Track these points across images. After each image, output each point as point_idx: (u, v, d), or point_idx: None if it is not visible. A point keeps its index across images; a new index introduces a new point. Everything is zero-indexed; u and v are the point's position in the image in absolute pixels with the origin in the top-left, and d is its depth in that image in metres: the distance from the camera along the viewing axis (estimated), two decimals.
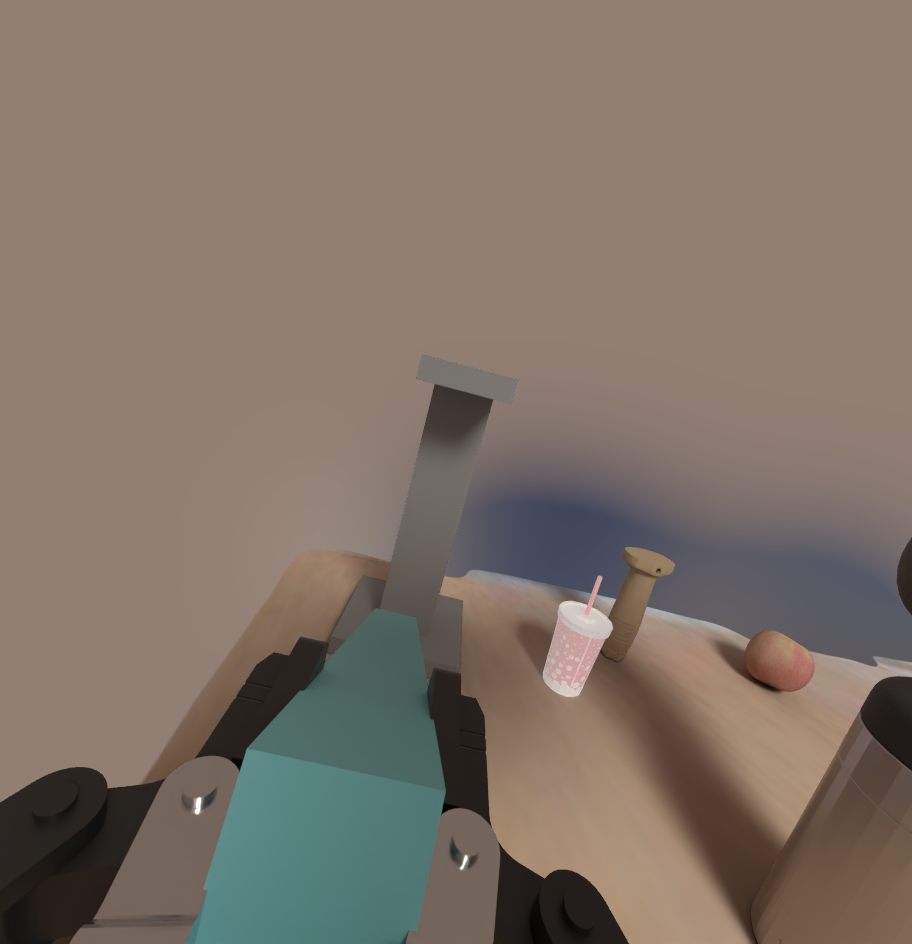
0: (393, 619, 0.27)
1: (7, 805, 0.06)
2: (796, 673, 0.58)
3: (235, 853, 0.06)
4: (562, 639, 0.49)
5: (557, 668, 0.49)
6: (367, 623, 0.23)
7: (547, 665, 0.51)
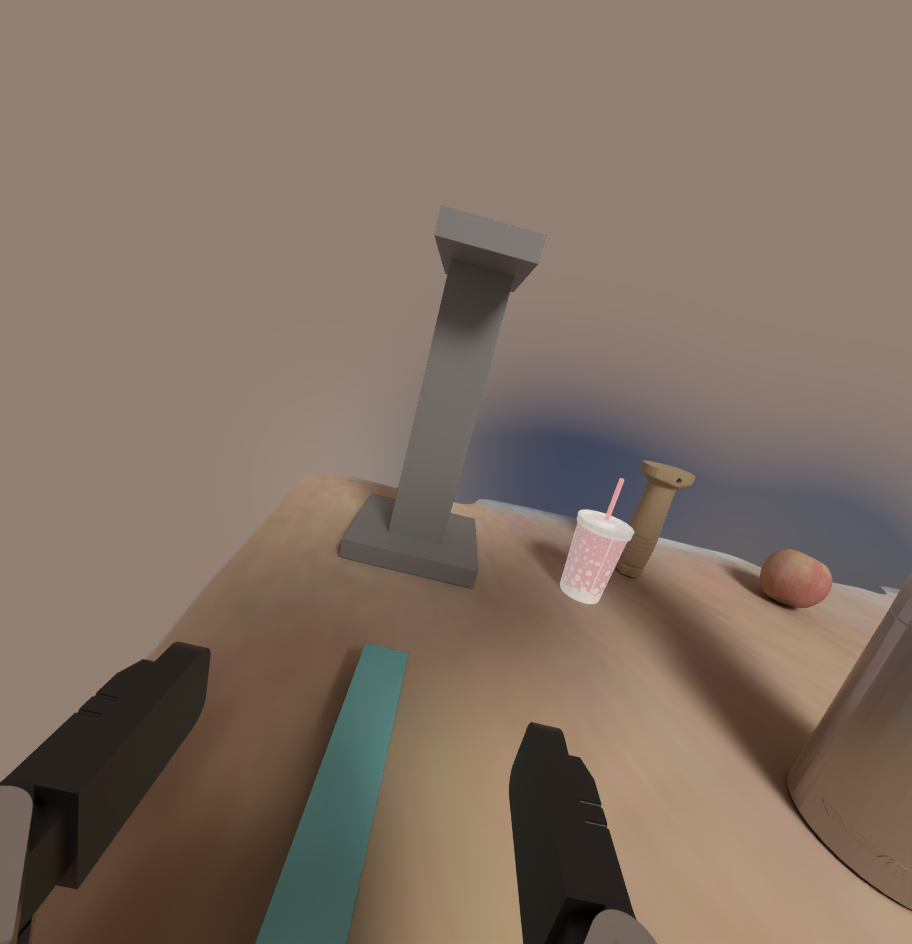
0: (371, 701, 0.25)
1: None
2: (814, 587, 0.57)
3: None
4: (581, 544, 0.47)
5: (576, 574, 0.48)
6: (324, 771, 0.21)
7: (565, 574, 0.49)
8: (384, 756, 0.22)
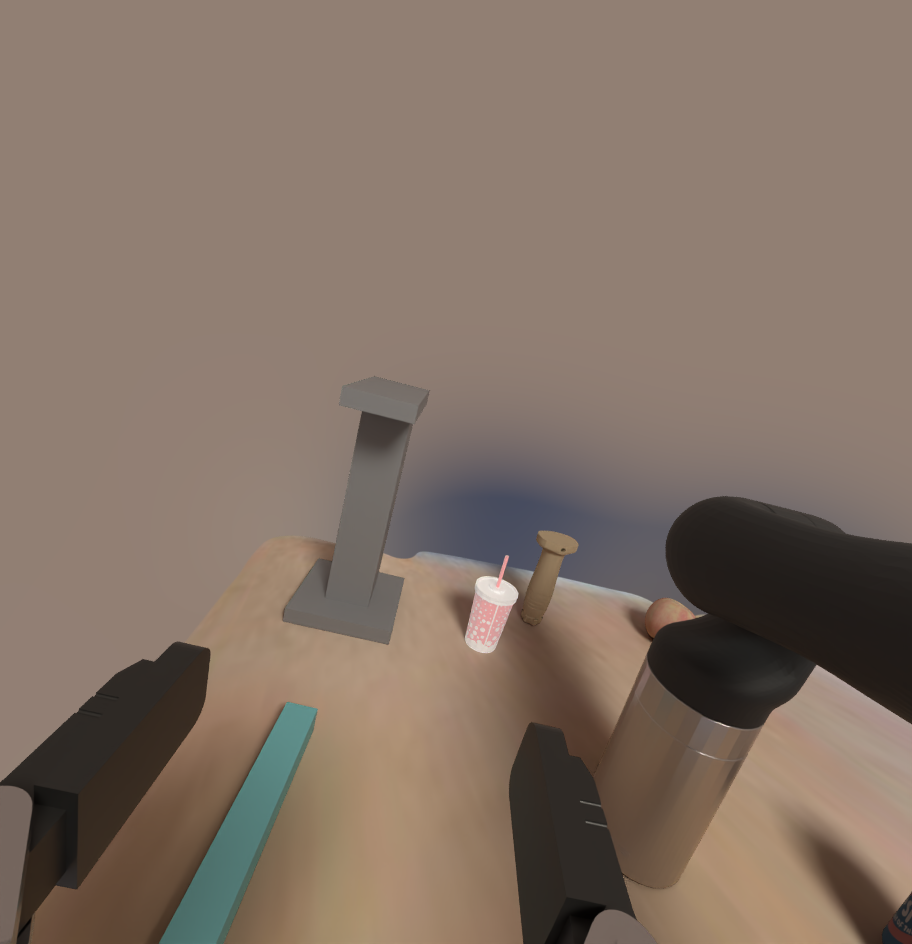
0: (281, 747, 0.38)
1: None
2: None
3: None
4: (477, 607, 0.60)
5: (474, 630, 0.60)
6: (240, 796, 0.33)
7: (467, 628, 0.62)
8: (282, 785, 0.35)
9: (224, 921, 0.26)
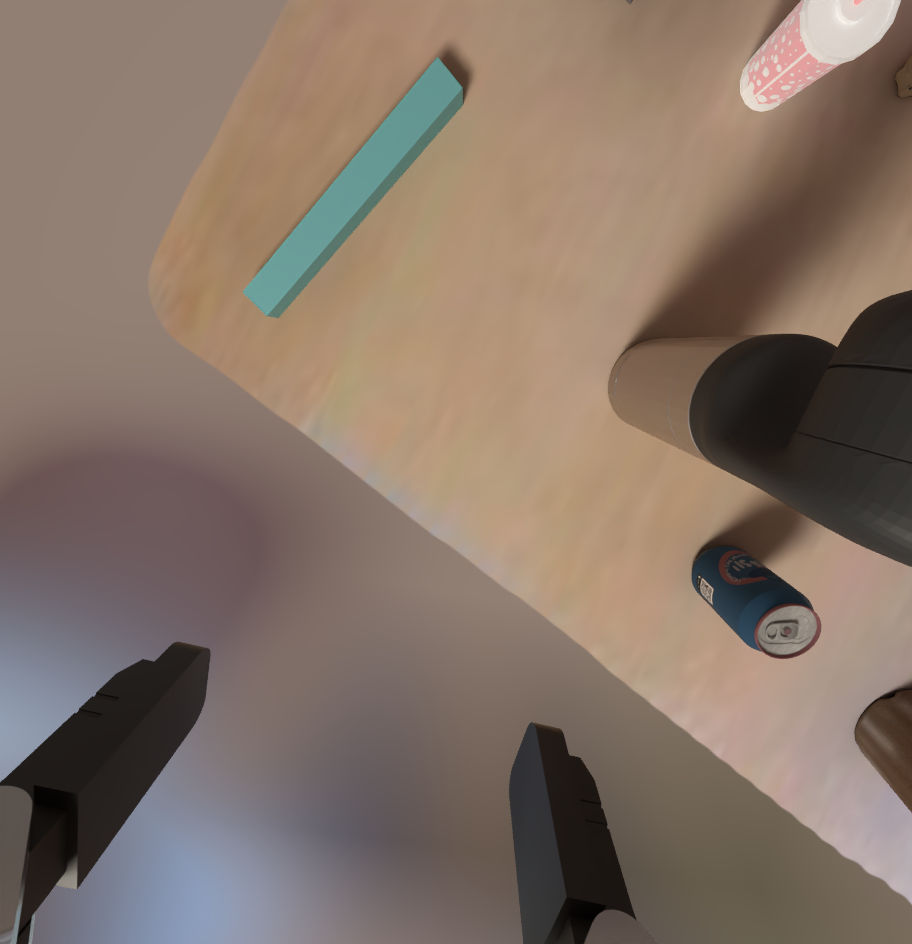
0: (410, 119, 0.37)
1: None
2: None
3: None
4: (788, 23, 0.32)
5: (759, 60, 0.36)
6: (363, 151, 0.38)
7: (762, 46, 0.36)
8: (397, 162, 0.38)
9: (332, 238, 0.40)
